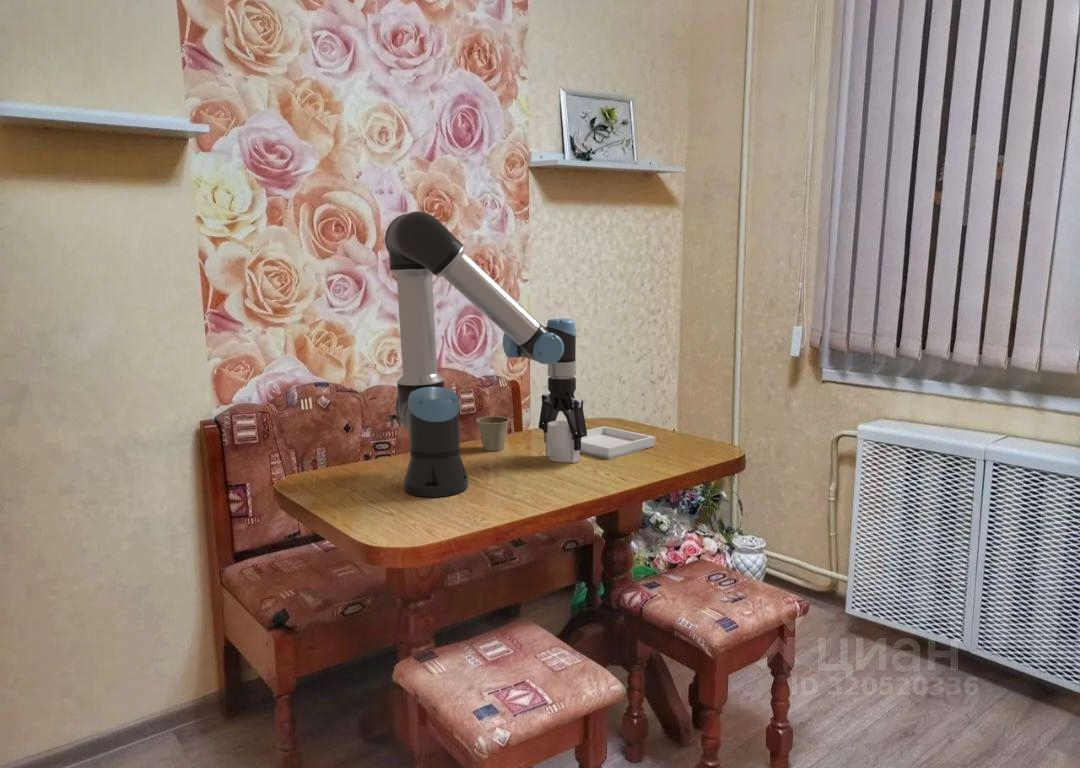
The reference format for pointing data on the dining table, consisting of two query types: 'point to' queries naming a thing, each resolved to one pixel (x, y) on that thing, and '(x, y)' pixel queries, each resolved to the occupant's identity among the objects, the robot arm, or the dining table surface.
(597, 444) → the tray
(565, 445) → the white cup
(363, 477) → the dining table surface
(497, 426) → the flower pot
